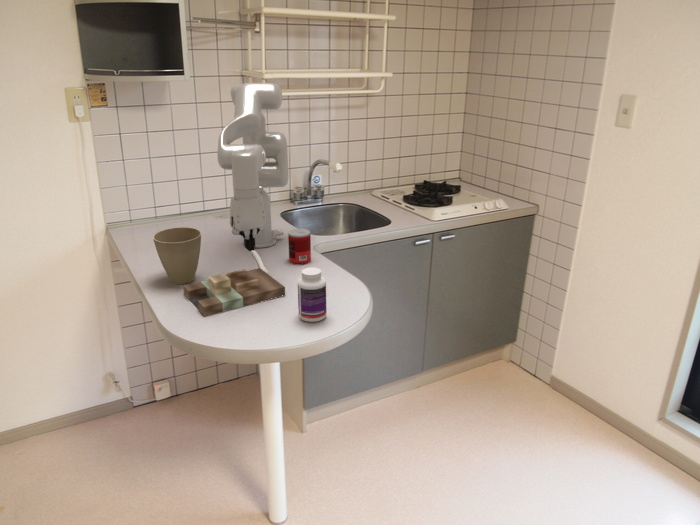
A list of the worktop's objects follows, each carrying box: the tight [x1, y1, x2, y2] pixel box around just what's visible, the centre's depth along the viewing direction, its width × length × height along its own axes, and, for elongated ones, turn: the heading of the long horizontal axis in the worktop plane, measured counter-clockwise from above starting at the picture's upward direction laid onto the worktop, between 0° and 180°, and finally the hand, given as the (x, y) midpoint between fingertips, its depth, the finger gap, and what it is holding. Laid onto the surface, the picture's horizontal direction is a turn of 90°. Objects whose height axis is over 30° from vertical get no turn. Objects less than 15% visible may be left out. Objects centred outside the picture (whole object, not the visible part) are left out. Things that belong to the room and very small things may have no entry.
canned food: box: [287, 228, 312, 265], centre depth 203 cm, size 8×8×11 cm
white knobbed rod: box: [250, 250, 269, 275], centre depth 204 cm, size 28×4×3 cm, turn 19°
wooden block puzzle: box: [182, 267, 286, 317], centre depth 177 cm, size 26×18×6 cm
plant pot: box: [152, 226, 202, 285], centre depth 185 cm, size 15×15×16 cm
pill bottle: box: [297, 267, 327, 323], centre depth 162 cm, size 8×8×14 cm
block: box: [207, 273, 231, 295], centre depth 173 cm, size 5×5×4 cm
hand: (250, 249), depth 177 cm, fingers closed
